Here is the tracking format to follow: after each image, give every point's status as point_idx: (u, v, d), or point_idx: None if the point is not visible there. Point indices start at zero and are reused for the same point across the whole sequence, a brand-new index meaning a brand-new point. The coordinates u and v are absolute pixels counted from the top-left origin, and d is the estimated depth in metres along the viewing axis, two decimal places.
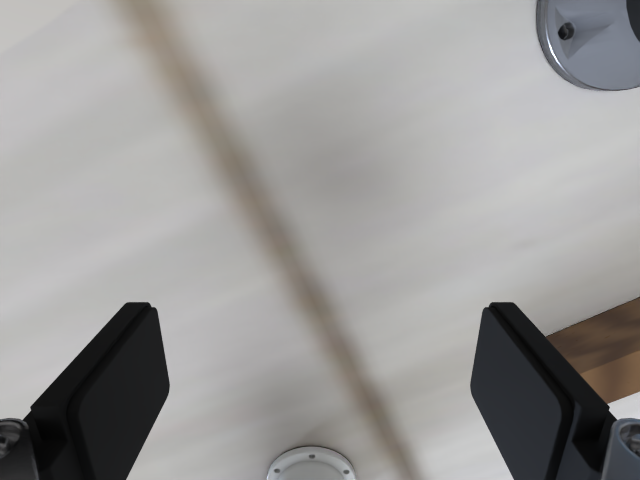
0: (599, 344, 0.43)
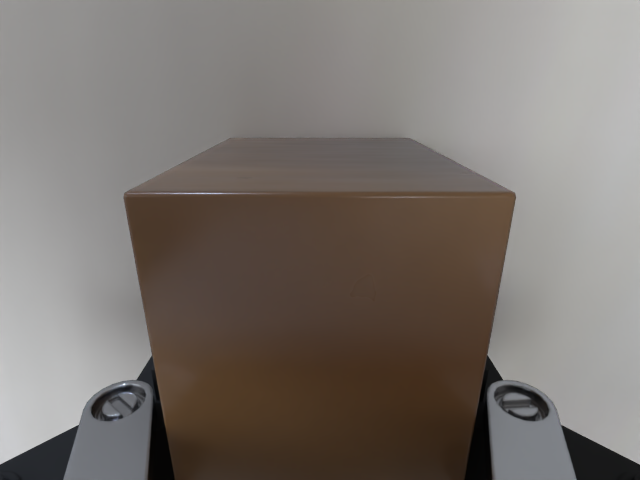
0: None
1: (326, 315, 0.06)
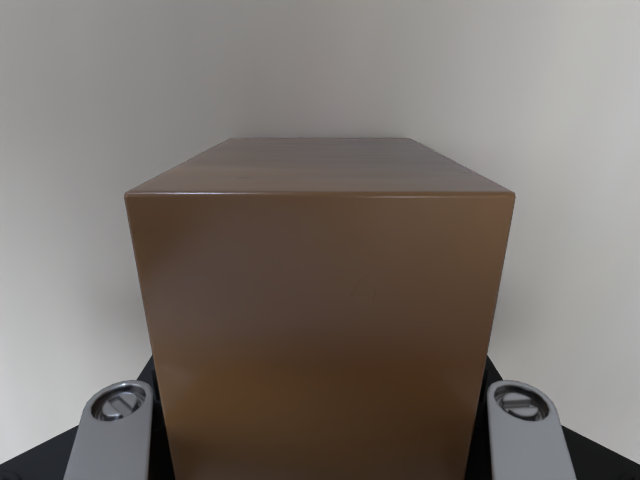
0: None
1: (326, 315, 0.06)
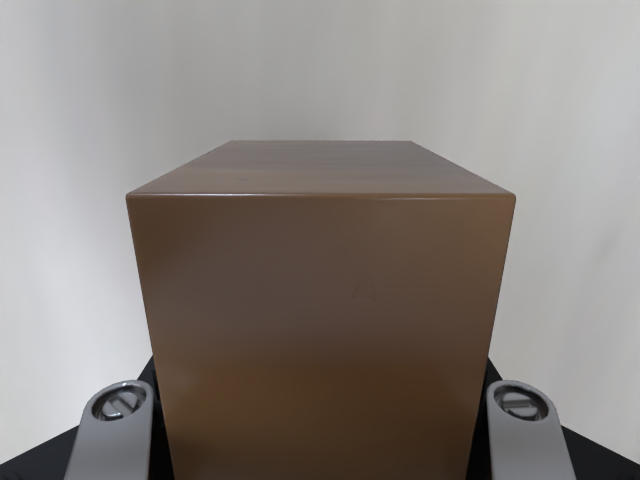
0: None
1: (327, 318, 0.06)
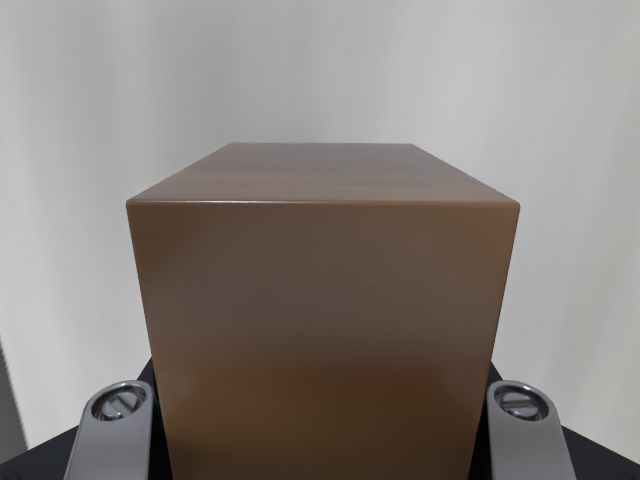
0: None
1: (328, 325, 0.06)
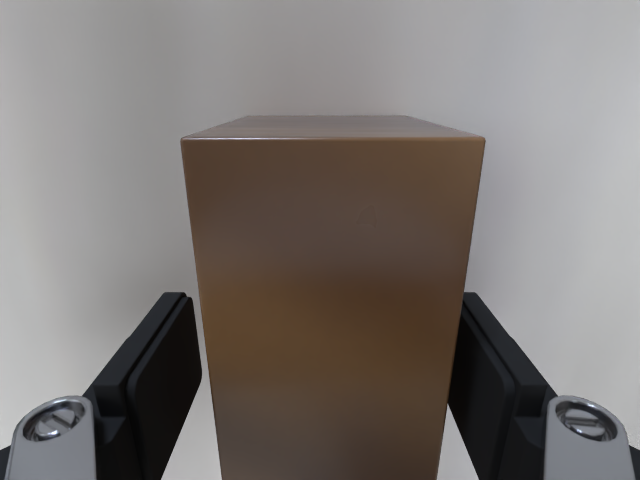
0: None
1: (337, 241, 0.08)
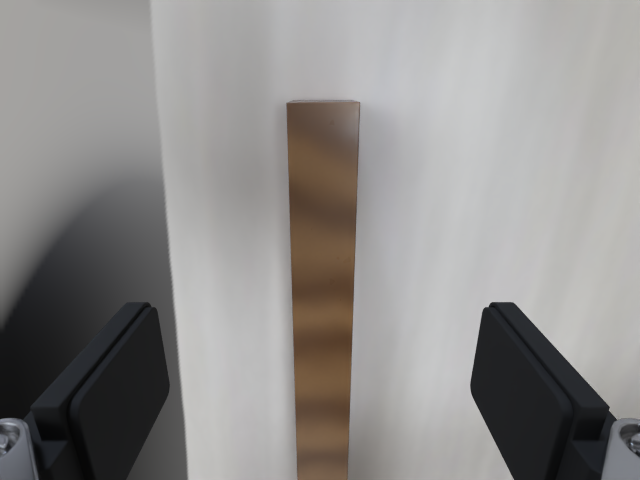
0: None
1: (324, 129, 0.30)
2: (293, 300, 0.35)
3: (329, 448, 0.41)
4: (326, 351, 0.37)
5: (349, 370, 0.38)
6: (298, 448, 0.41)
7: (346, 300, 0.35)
